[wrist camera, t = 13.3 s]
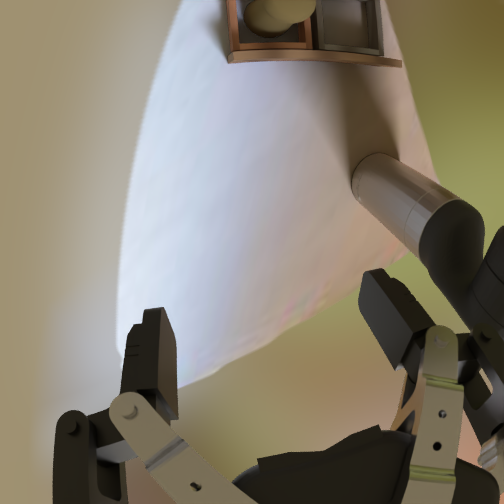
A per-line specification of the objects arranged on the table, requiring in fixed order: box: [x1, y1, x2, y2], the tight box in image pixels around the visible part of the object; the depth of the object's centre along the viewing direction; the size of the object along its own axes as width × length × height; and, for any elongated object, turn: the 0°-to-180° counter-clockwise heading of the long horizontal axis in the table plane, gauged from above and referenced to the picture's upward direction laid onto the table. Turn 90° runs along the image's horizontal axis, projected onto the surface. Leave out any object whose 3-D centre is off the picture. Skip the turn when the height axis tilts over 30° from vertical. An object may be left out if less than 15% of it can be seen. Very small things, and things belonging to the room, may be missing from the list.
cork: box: [244, 0, 316, 38], centre depth 23 cm, size 6×6×11 cm
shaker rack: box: [226, 0, 402, 68], centre depth 26 cm, size 21×11×6 cm, turn 94°
